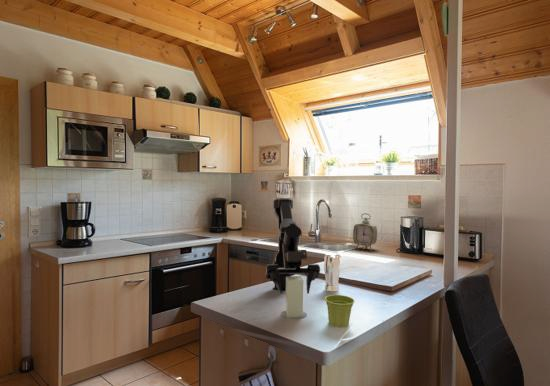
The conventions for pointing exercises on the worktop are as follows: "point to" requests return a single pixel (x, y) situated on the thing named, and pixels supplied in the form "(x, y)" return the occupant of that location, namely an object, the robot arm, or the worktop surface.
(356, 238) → the tabletop clock
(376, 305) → the worktop surface
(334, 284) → the beer glass
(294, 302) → the cover
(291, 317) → the saucer
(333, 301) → the plant pot
